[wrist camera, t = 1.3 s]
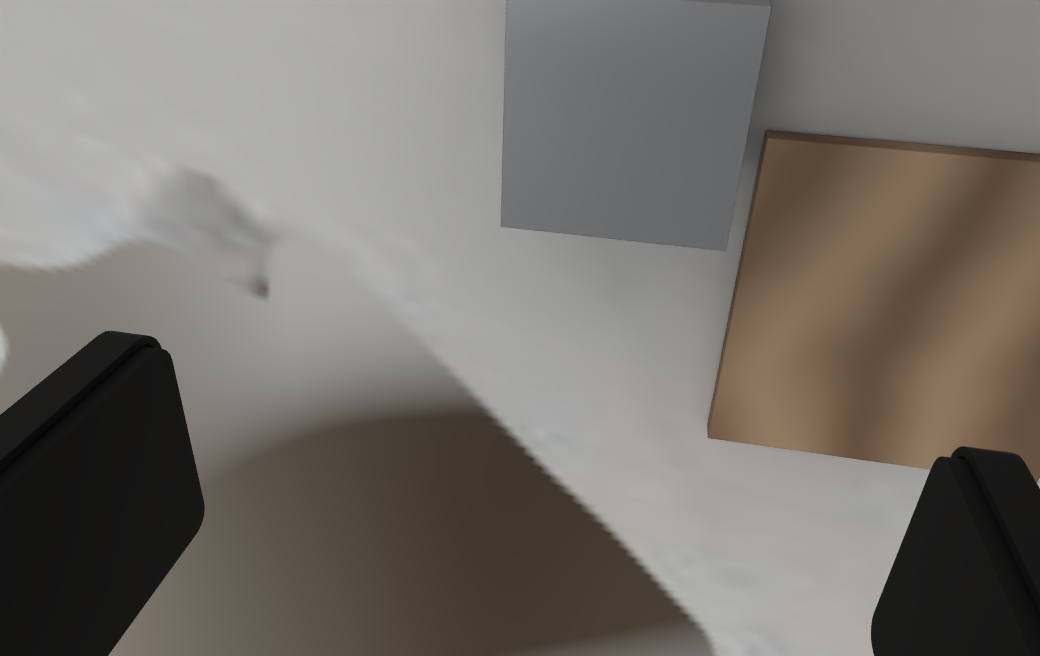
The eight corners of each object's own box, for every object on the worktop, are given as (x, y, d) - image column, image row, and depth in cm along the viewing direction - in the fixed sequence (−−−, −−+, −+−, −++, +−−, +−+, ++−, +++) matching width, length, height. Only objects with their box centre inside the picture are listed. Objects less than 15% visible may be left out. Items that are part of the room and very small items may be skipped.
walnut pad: (1172, 165, 28) (1187, 175, 27) (1028, 469, 35) (1036, 484, 34) (765, 130, 30) (767, 138, 29) (707, 424, 37) (707, 438, 36)
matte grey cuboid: (751, -31, 27) (771, 6, 21) (718, 164, 31) (725, 251, 24) (550, -44, 28) (506, -12, 22) (541, 147, 32) (500, 226, 25)
